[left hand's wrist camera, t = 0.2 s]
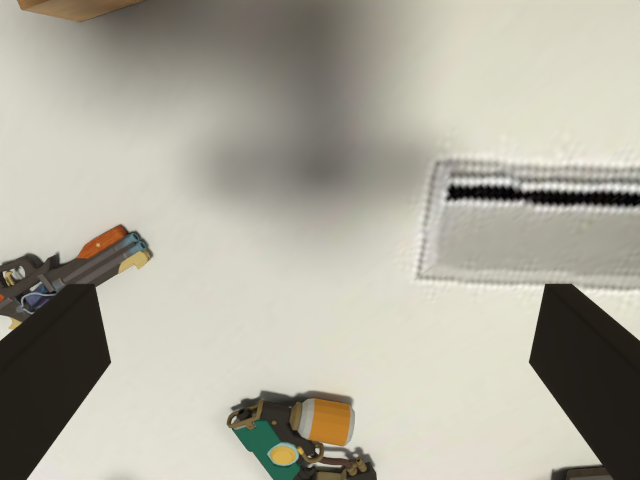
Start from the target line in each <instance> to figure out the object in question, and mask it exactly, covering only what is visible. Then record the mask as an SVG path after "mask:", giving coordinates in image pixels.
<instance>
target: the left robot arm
mask: <svg viewBox="0 0 640 480" xmlns="http://www.w3.org/2000/svg"><path fill="white" fill-rule="evenodd" d="M110 363H111V360H110V355H109V350H108V345H107V340H106V336H105V331H104V326H103V321H102V316H101V312H100V307H99V302H98V297H97V293H96V288H95V284H68V285H66V286H65V287H64V288H63V289H62V290H60V291H59V292H58V293H57V294H56V295H54V296H53V297H52V298H51V299H50V300H48V301H47V302H46V303H45V304H44V305H42V306H41V307H40V308H39V309H38V310H37V311H35V312H34V313H33V314H32V315H31V316H29V317H28V318H27V319H26V320H25V321H23V322H22V323H21V324H20V325H19V326H17V327H16V328H15V329H14V330H13V331H11V332H10V333H9V334H8V335H7V336H5V337H4V338H3V339H2V340H1V341H0V480H27V478H28V477H29V476H30V474H31V473H32V471H33V470H34V469H35V467H36V466H37V464H38V463H39V462H40V460H41V459H42V458H43V456H44V455H45V453H46V452H47V451H48V449H49V448H50V446H51V445H52V444H53V442H54V441H55V440H56V438H57V437H58V435H59V434H60V433H61V431H62V430H63V428H64V427H65V426H66V424H67V423H68V422H69V420H70V419H71V417H72V416H73V415H74V413H75V412H76V410H77V409H78V408H79V406H80V405H81V404H82V402H83V401H84V399H85V398H86V397H87V395H88V394H89V392H90V391H91V390H92V388H93V387H94V386H95V384H96V383H97V381H98V380H99V379H100V377H101V376H102V374H103V373H104V372H105V370H106V369H107V367H108V366H109V365H110ZM529 363H530V365H531V366H532V367H533V369H534V370H535V372H536V373H537V374H538V376H539V377H540V379H541V380H542V381H543V383H544V384H545V386H546V387H547V388H548V390H549V391H550V392H551V394H552V395H553V397H554V398H555V399H556V401H557V402H558V404H559V405H560V406H561V408H562V409H563V410H564V412H565V413H566V415H567V416H568V417H569V419H570V420H571V422H572V423H573V424H574V426H575V427H576V428H577V430H578V431H579V433H580V434H581V435H582V437H583V438H584V440H585V441H586V442H587V444H588V445H589V446H590V448H591V449H592V451H593V452H594V453H595V455H596V456H597V458H598V459H599V460H600V462H601V463H602V464H603V466H604V467H605V469H606V470H607V471H608V473H609V474H610V476H611V477H612V478H613V480H640V341H639V340H638V339H637V338H636V337H635V336H633V335H632V334H631V333H630V332H629V331H627V330H626V329H625V328H624V327H623V326H621V325H620V324H619V323H618V322H617V321H615V320H614V319H613V318H612V317H611V316H609V315H608V314H607V313H606V312H605V311H603V310H602V309H601V308H600V307H599V306H598V305H596V304H595V303H594V302H593V301H592V300H590V299H589V298H588V297H587V296H586V295H584V294H583V293H582V292H581V291H580V290H578V289H577V288H576V287H575V286H574V285H572V284H545V288H544V293H543V297H542V302H541V307H540V312H539V316H538V321H537V326H536V331H535V336H534V340H533V345H532V350H531V355H530V360H529Z"/></svg>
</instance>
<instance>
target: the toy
mask: <svg viewBox="0 0 640 480" xmlns="http://www.w3.org/2000/svg"><path fill="white" fill-rule="evenodd" d="M566 480H613V478H612V477H611V476H610V474H609V473H608V471H607V470H606V469H605V467H599V468H586V469H572V470H568V472H567V474H566Z"/></svg>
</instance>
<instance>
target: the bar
mask: <svg viewBox="0 0 640 480" xmlns="http://www.w3.org/2000/svg"><path fill="white" fill-rule="evenodd" d="M17 1H18V3H19V5H20V8H21V9H22V10H25V11H30V12H34V13H39V14H44V15H49V16H53V17H58V18H63V19H67V20H72V21H77V22H82V21H85V20H88V19H91V18H94V17H97V16H100V15H103V14H106V13H109V12H112V11H115V10H118V9H121V8H124V7H127V6H130V5H133V4H136V3H139V2H142V1H145V0H17Z"/></svg>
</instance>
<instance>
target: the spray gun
mask: <svg viewBox="0 0 640 480" xmlns="http://www.w3.org/2000/svg"><path fill="white" fill-rule="evenodd" d="M254 409H257V410H256V412H255V410H254ZM236 415H237V419H236V420H235V421H234V423H233V424H231V421H232V418H233V417H234V416H236ZM354 422H355V413H354V410H353V409H352V407H351V406H350V405H349V404H345V403H339V402H333V401H328V400H322V399H316V398H311V399H307V400H306V401H304V402H303V403H301V402H297V403H296V404H295V405H294V407H293V408H292V409H291V408H289V407H286V406H282V405H278V404H274V403H270V402H266V401H264V402H263V400H259V402H258V404H257V405H254V406H251V407H248V408H245V409H244V408H243V409H240V410H239V411H236V412H233V413H231V414H230V415H229V417H228V420H227V425H228V427H229V428H232V430H233V431H234V433H235V434H236V435H237V437H238V438H239V440H240V441H241V442H242V444H243V445H244V446H245V448H246V449H247V450H248V451H250V452H253V453H254V455H255V456H256V457H257V459H258V460H259V461H260V463H261V464H262V465H263V467H264V468H265V469H266V471H267V472H268V473H269V474H270V476H271V477H272V478H273V480H377V477H376V472H375V470H374V469H373V467H372V465H371V464H370V462H367V463H364V461H363V460H362V459H361V458H357V459H356V463H353V462H351V461H349V460H347V459H342V458H327V457H323V454H324V447H323V444H322V443H319V442H323V443H328V444H333V445H338V446H345V445H346V444H347V443H348V442H349V441H350V440H351V438H352V435H353V430H354ZM311 440H312V441H317V442H318V443H315V444H313V443H312V441H311ZM317 447H320V453H319V455H318V454H317V453H316V452H315V448H317ZM307 456H311V457H312V458H309V457H307ZM303 460H305V461H306V462H308V463H316V462H320V463H323V464H329V465H344V466H345V468H346V469H344V470H343V472H342V473H341V474H340V473H329V472H317V471H316V469H315V467H312V468H309V469H307V468H304V467H302V466H301V462H302V461H303Z"/></svg>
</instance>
